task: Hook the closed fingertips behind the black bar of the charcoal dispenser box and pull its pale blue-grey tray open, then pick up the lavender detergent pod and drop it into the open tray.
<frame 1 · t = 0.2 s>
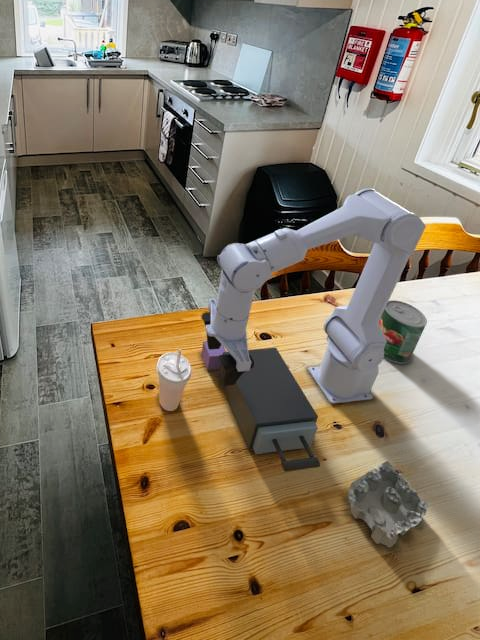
hand: (220, 364, 74), 10 cm above the table, tool pointing down, fingers open, 7 cm apart
dispenser: (259, 407, 77), on the table
canned tomato: (389, 349, 92), on the table
tray: (274, 415, 72), point 4 cm above the table, slide at 0.0 cm
egg carton: (381, 510, 62), on the table
pod: (212, 361, 86), on the table
smoothie: (168, 402, 77), on the table
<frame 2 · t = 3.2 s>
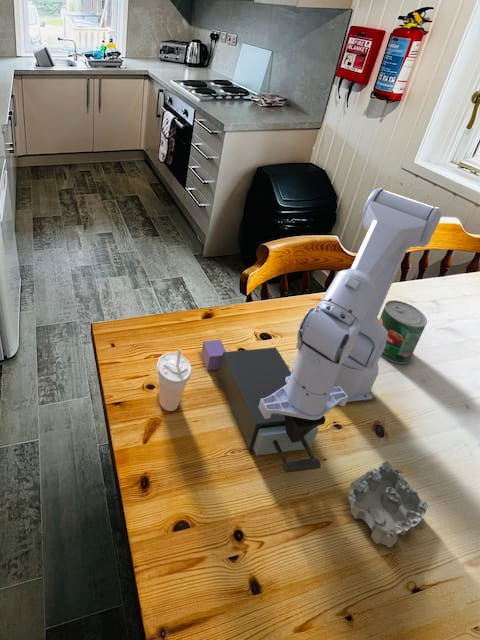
hand: (291, 436, 66), 6 cm above the table, tool pointing down, fingers closed, pressing on tray
tray: (274, 417, 71), point 4 cm above the table, slide at 0.2 cm, touching gripper
everything else where it was.
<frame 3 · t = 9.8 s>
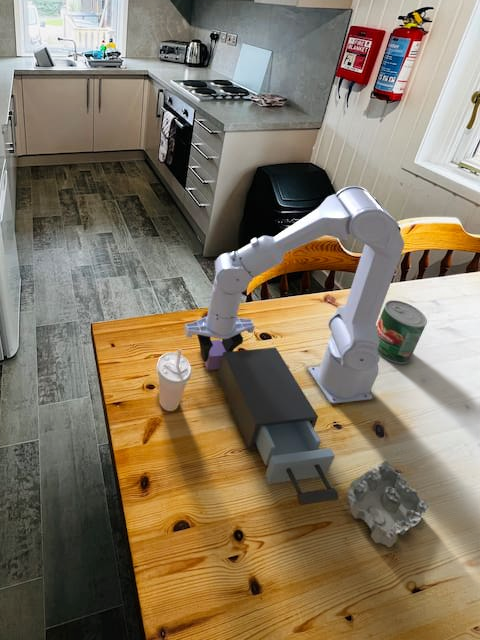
hand: (213, 356, 85), 1 cm above the table, tool pointing down, fingers closed on pod, 4 cm apart
tray: (287, 441, 68), point 4 cm above the table, slide at 4.5 cm
pod: (212, 361, 86), on the table, touching gripper
everything else where it was.
when the fingers open (8 cm above the table, at t = 13.9 s): pod stays where it is and tips over, resting on dispenser, tray.
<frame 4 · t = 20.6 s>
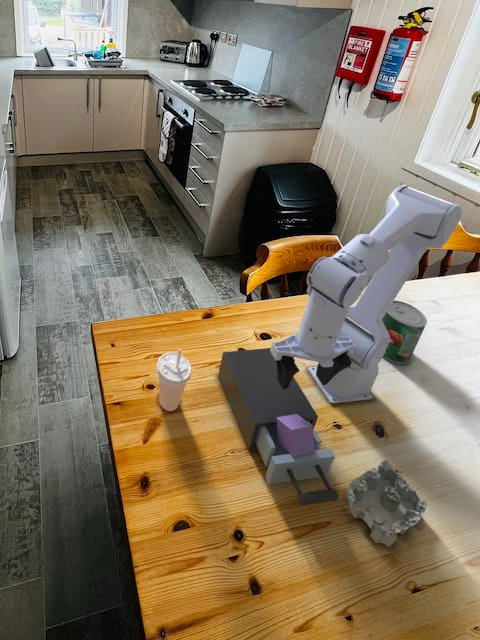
hand: (301, 382, 71), 10 cm above the table, tool pointing down, fingers open, 7 cm apart
tray: (287, 442, 67), point 4 cm above the table, slide at 4.6 cm, touching pod
pod: (296, 447, 65), point 6 cm above the table, tilted 30°, touching dispenser, tray
everything else where it was.
at the end: tray slide at 4.6 cm; pod inside the target area in the tray (1.2 cm from its centre), point 5.5 cm above the dispenser's base; the gripper is holding nothing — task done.
